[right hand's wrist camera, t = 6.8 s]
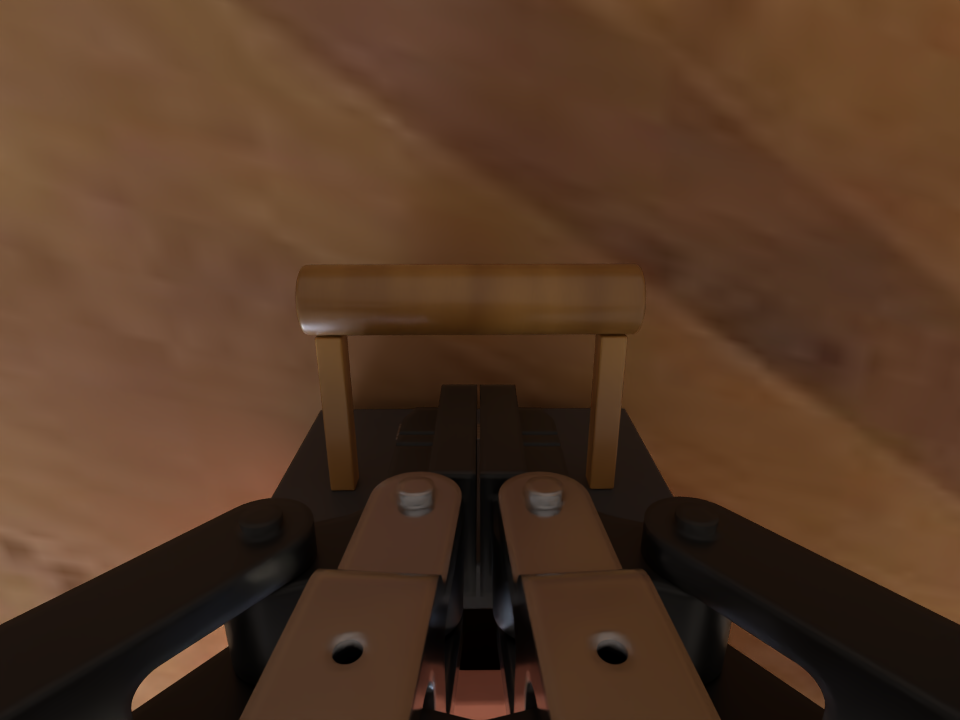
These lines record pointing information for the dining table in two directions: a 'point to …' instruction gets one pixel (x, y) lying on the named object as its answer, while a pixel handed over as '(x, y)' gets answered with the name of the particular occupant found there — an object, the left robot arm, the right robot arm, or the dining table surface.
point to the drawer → (477, 311)
